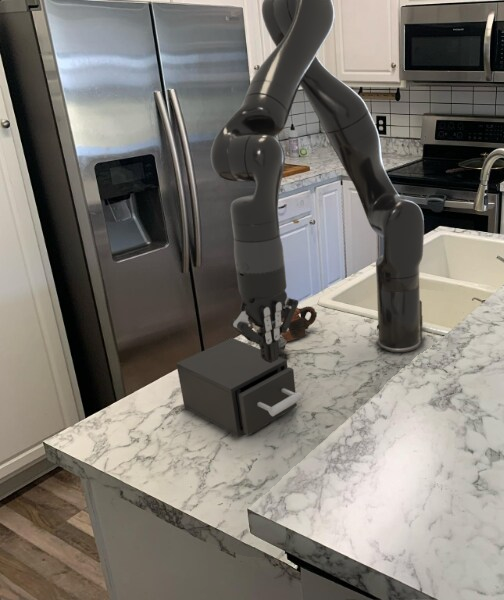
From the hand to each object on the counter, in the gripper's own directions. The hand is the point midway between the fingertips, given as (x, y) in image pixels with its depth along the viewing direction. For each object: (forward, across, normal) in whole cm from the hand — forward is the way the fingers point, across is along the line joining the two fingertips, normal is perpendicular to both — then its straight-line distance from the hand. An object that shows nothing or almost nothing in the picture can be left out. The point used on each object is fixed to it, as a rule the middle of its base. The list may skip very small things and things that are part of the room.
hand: (270, 360), depth 103 cm
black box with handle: (+12, 0, -6) cm, 14 cm away
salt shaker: (+14, -17, -20) cm, 30 cm away
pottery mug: (+14, -28, -26) cm, 41 cm away
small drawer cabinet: (+13, 0, -11) cm, 17 cm away
